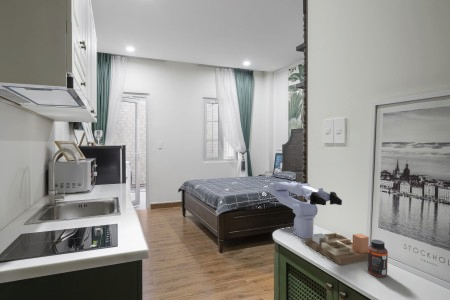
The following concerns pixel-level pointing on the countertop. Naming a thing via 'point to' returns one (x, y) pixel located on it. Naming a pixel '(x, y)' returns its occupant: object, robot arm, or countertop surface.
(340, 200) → the robot arm
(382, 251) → the supplement bottle
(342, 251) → the collar
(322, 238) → the block
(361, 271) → the countertop surface
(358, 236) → the terracotta rectangular block
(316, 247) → the wooden compartment tray
